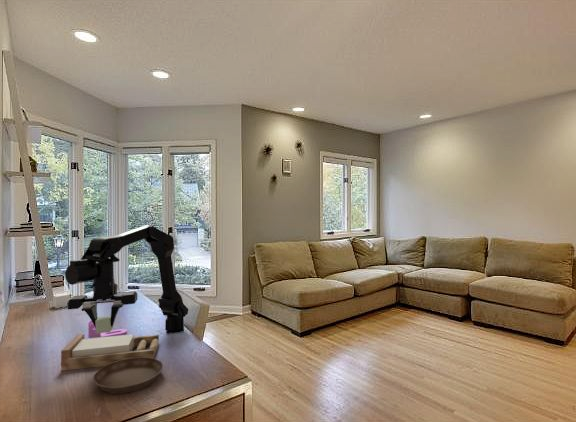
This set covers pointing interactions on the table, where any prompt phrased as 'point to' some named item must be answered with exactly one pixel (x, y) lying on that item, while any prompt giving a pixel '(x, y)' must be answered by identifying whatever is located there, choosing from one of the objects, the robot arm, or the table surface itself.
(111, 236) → the robot arm
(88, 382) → the table surface
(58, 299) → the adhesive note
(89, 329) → the bracket
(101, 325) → the block
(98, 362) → the roller track
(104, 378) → the plant saucer
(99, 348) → the slab
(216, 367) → the table surface
